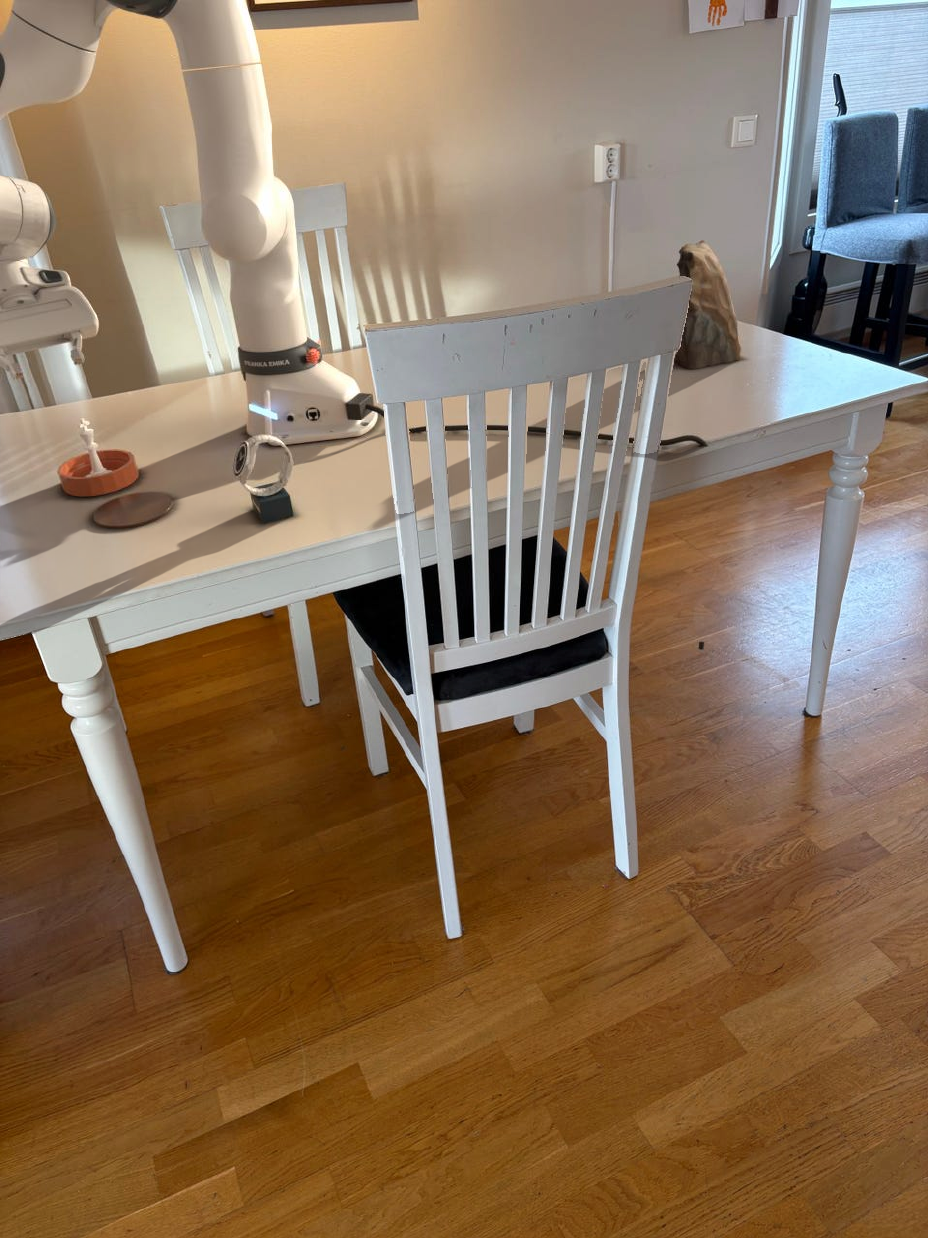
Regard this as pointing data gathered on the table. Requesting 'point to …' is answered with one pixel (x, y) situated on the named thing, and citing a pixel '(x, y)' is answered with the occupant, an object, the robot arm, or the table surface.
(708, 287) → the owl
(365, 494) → the table surface
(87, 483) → the dish
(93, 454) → the chess piece
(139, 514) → the coaster
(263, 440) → the watch
